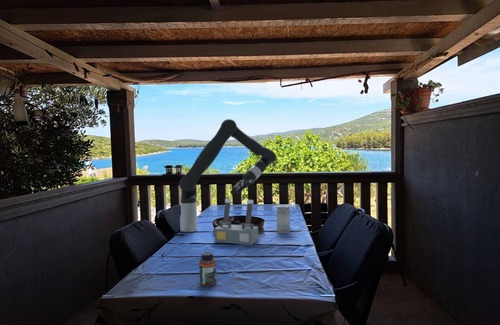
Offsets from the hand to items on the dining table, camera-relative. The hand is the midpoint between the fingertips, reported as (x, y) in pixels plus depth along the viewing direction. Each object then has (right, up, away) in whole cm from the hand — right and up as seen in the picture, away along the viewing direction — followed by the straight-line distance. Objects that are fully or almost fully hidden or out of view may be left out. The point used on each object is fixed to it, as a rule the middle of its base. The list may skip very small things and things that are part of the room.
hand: (234, 192), depth 181 cm
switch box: (+2, -24, -13) cm, 27 cm away
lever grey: (+8, -16, -16) cm, 23 cm away
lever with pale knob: (-4, -16, -11) cm, 20 cm away
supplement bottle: (-6, -27, -67) cm, 72 cm away
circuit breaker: (+29, -23, +7) cm, 38 cm away
